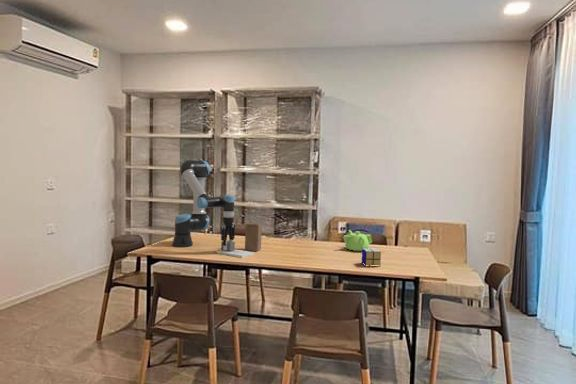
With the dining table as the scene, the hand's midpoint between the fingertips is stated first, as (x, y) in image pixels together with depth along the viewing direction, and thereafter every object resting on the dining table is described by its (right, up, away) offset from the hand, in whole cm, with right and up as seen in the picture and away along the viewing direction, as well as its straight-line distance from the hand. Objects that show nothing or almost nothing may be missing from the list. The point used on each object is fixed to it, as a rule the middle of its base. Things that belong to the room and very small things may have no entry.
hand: (227, 249), depth 308 cm
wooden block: (+17, -2, +12) cm, 21 cm away
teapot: (+96, -4, +29) cm, 100 cm away
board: (+6, -3, -3) cm, 7 cm away
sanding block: (0, -1, 0) cm, 1 cm away
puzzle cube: (+98, -8, -22) cm, 100 cm away
